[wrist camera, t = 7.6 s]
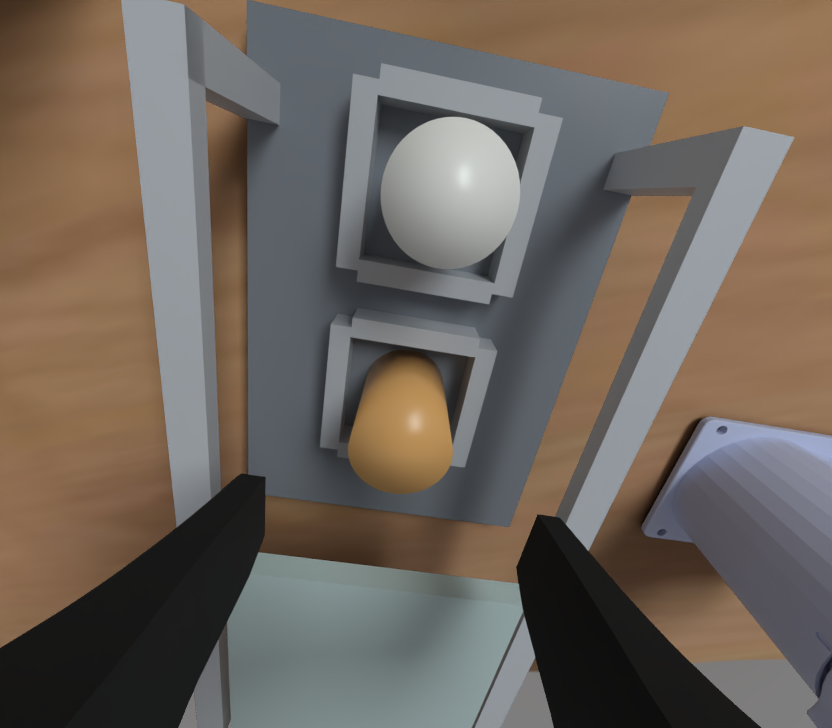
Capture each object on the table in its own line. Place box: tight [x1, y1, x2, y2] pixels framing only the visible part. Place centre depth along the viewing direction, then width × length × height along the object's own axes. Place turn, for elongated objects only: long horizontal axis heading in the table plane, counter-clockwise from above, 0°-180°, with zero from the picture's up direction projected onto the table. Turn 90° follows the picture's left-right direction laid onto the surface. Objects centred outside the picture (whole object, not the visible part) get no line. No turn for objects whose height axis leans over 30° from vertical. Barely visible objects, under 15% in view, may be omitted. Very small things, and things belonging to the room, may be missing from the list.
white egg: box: [381, 117, 520, 269], centre depth 12 cm, size 4×4×5 cm
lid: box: [227, 552, 523, 728], centre depth 15 cm, size 10×15×2 cm, turn 170°
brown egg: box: [348, 349, 453, 494], centre depth 15 cm, size 4×4×5 cm
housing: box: [121, 0, 794, 728], centre depth 16 cm, size 14×30×7 cm, turn 170°
